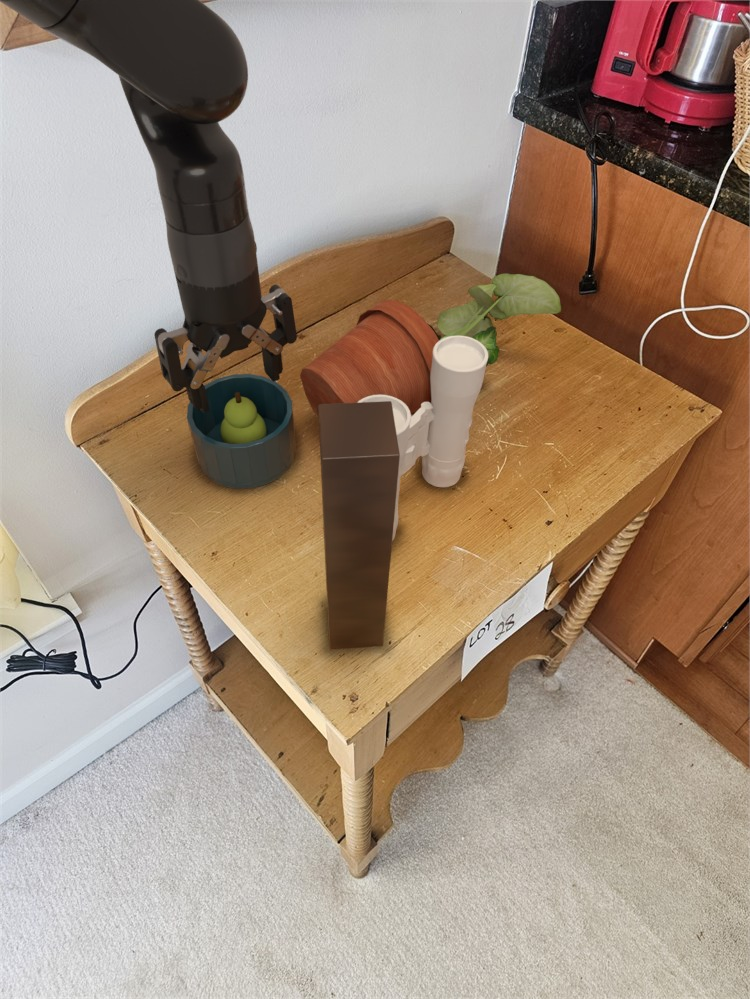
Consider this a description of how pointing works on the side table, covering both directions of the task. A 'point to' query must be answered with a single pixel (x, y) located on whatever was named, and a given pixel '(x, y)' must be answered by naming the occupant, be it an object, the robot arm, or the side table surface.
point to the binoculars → (440, 414)
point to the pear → (242, 422)
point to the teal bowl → (244, 460)
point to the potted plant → (416, 343)
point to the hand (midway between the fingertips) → (237, 391)
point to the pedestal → (357, 517)
